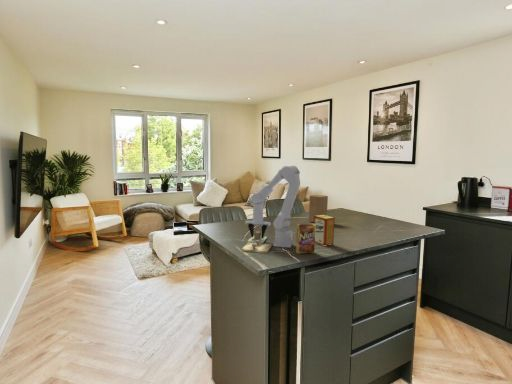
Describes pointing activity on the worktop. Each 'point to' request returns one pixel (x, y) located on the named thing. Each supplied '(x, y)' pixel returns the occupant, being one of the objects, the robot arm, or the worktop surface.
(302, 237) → the candy box
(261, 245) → the stud board
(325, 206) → the wooden block
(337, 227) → the worktop surface
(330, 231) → the baking soda box
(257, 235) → the keyhole panel
